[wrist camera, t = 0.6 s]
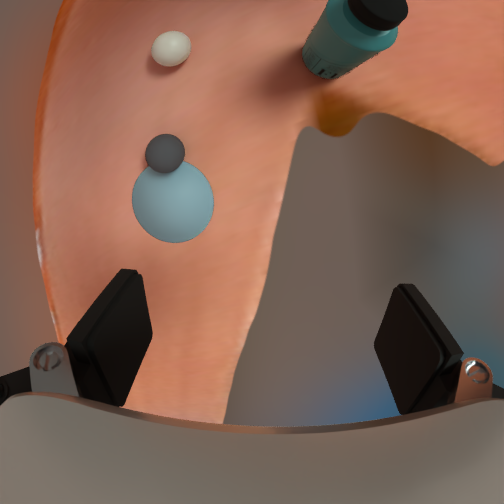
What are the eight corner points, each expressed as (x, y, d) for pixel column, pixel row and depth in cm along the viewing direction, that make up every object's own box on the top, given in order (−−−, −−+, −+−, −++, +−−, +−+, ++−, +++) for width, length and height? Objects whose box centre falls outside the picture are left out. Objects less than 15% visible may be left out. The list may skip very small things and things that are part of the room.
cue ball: (161, 39, 27) (147, 28, 23) (196, 35, 27) (187, 23, 23) (157, 71, 29) (143, 64, 25) (193, 68, 29) (183, 60, 25)
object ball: (154, 134, 33) (139, 135, 29) (189, 133, 33) (179, 133, 29) (153, 170, 35) (139, 176, 31) (188, 170, 35) (178, 176, 31)
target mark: (131, 160, 35) (130, 160, 34) (215, 159, 35) (214, 159, 34) (135, 239, 40) (135, 240, 39) (213, 244, 40) (212, 245, 39)
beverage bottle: (305, 84, 30) (355, 38, 12) (293, 40, 27) (325, -39, 9) (352, 80, 29) (437, 44, 11) (340, 36, 27) (408, -29, 8)
